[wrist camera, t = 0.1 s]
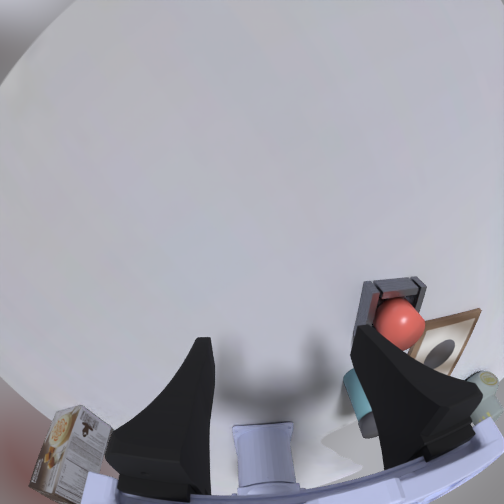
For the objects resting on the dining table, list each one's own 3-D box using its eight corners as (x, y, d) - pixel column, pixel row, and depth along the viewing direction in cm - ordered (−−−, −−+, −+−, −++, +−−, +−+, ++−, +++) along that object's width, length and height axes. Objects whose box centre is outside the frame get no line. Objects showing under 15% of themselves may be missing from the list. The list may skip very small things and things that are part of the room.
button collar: (402, 325, 26) (410, 336, 24) (353, 333, 26) (359, 346, 24) (416, 276, 24) (426, 286, 22) (363, 281, 24) (372, 293, 22)
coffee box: (84, 432, 34) (62, 505, 19) (55, 410, 31) (26, 485, 17) (113, 427, 32) (91, 514, 17) (81, 403, 30) (49, 493, 15)
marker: (366, 382, 30) (388, 433, 22) (339, 387, 29) (358, 441, 22) (373, 363, 28) (400, 415, 21) (345, 368, 28) (368, 424, 21)
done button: (402, 327, 24) (417, 347, 22) (369, 333, 24) (381, 355, 21) (413, 293, 23) (430, 312, 20) (377, 298, 23) (393, 319, 20)
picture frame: (438, 389, 33) (440, 392, 32) (382, 406, 33) (384, 410, 32) (479, 307, 27) (482, 311, 26) (419, 322, 26) (423, 326, 26)
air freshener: (439, 402, 36) (461, 442, 26) (467, 369, 32) (495, 410, 23) (468, 396, 37) (489, 430, 28) (492, 366, 34) (517, 399, 25)
